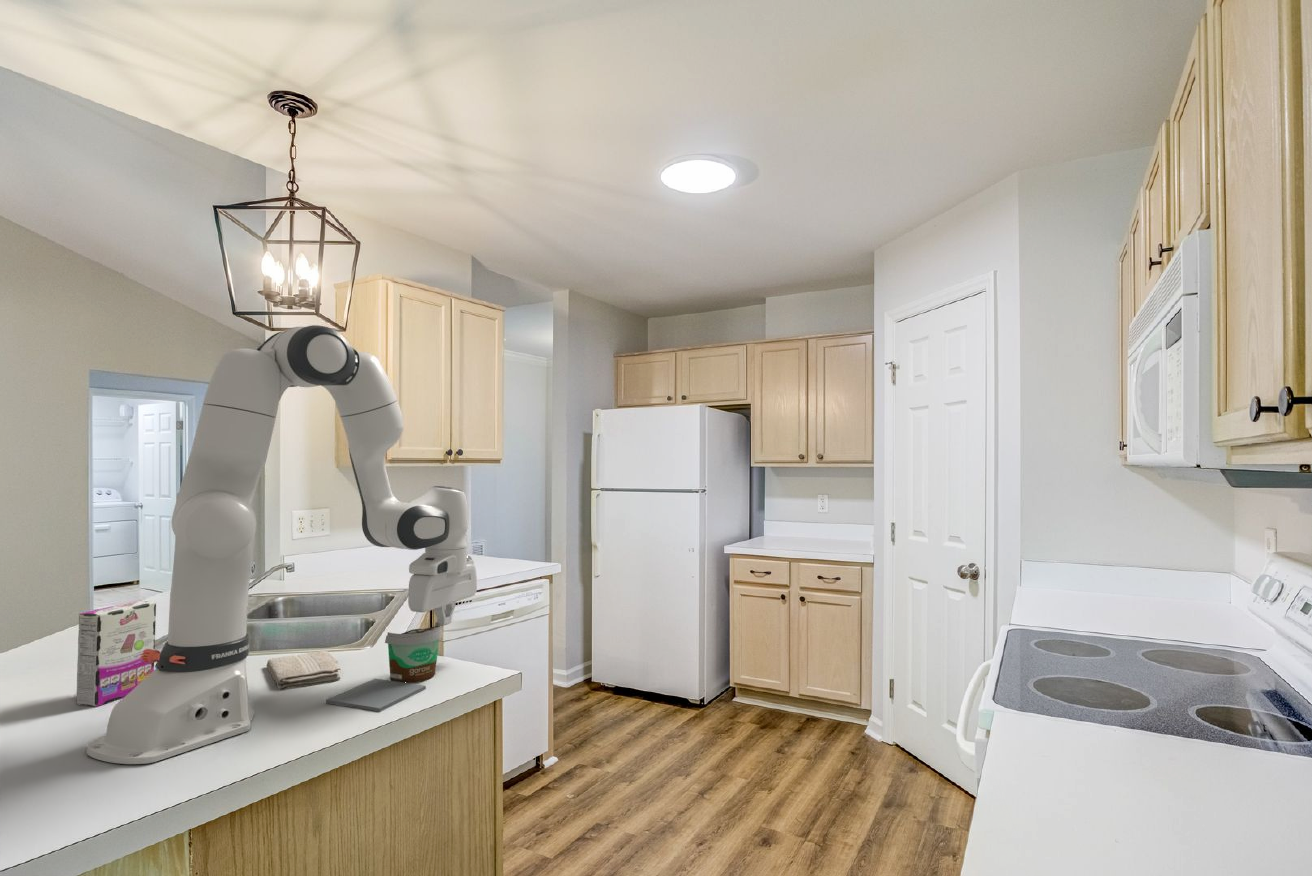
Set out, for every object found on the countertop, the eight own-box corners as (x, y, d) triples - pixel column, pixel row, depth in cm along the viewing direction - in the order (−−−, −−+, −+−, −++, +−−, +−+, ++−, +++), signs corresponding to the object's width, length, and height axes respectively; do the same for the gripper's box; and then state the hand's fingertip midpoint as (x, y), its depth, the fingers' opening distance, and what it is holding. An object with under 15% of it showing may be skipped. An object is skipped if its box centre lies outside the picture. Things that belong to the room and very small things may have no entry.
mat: (379, 711, 120) (379, 708, 120) (325, 702, 124) (325, 699, 124) (425, 688, 132) (425, 685, 132) (375, 681, 136) (375, 678, 136)
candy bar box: (133, 685, 131) (137, 600, 131) (154, 687, 130) (158, 601, 130) (72, 705, 120) (77, 612, 120) (95, 708, 119) (100, 614, 119)
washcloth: (278, 693, 129) (278, 677, 129) (264, 669, 143) (264, 654, 143) (344, 682, 136) (345, 667, 137) (325, 660, 151) (325, 646, 151)
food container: (400, 689, 132) (402, 638, 132) (383, 682, 135) (385, 632, 136) (453, 674, 141) (455, 626, 142) (436, 668, 145) (437, 621, 145)
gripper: (461, 553, 157) (459, 613, 157) (403, 566, 138) (401, 634, 138) (484, 555, 156) (482, 615, 155) (429, 568, 136) (427, 637, 136)
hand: (444, 624), depth 146 cm, fingers closed
